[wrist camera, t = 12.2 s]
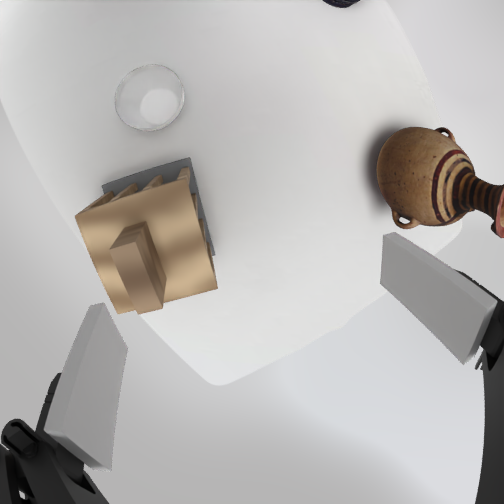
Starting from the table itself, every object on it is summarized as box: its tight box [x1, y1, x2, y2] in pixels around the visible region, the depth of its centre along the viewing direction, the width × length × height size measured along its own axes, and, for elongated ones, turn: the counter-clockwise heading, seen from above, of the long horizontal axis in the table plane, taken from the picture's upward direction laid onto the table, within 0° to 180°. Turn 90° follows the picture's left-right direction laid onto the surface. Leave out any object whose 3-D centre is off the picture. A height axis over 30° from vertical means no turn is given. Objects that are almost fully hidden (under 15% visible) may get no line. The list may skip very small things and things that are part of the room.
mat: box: [102, 158, 215, 256], centre depth 46 cm, size 18×16×1 cm
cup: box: [115, 65, 185, 131], centre depth 34 cm, size 9×9×12 cm
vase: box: [377, 127, 504, 238], centre depth 38 cm, size 21×18×30 cm
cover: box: [75, 167, 218, 314], centre depth 37 cm, size 15×15×22 cm
